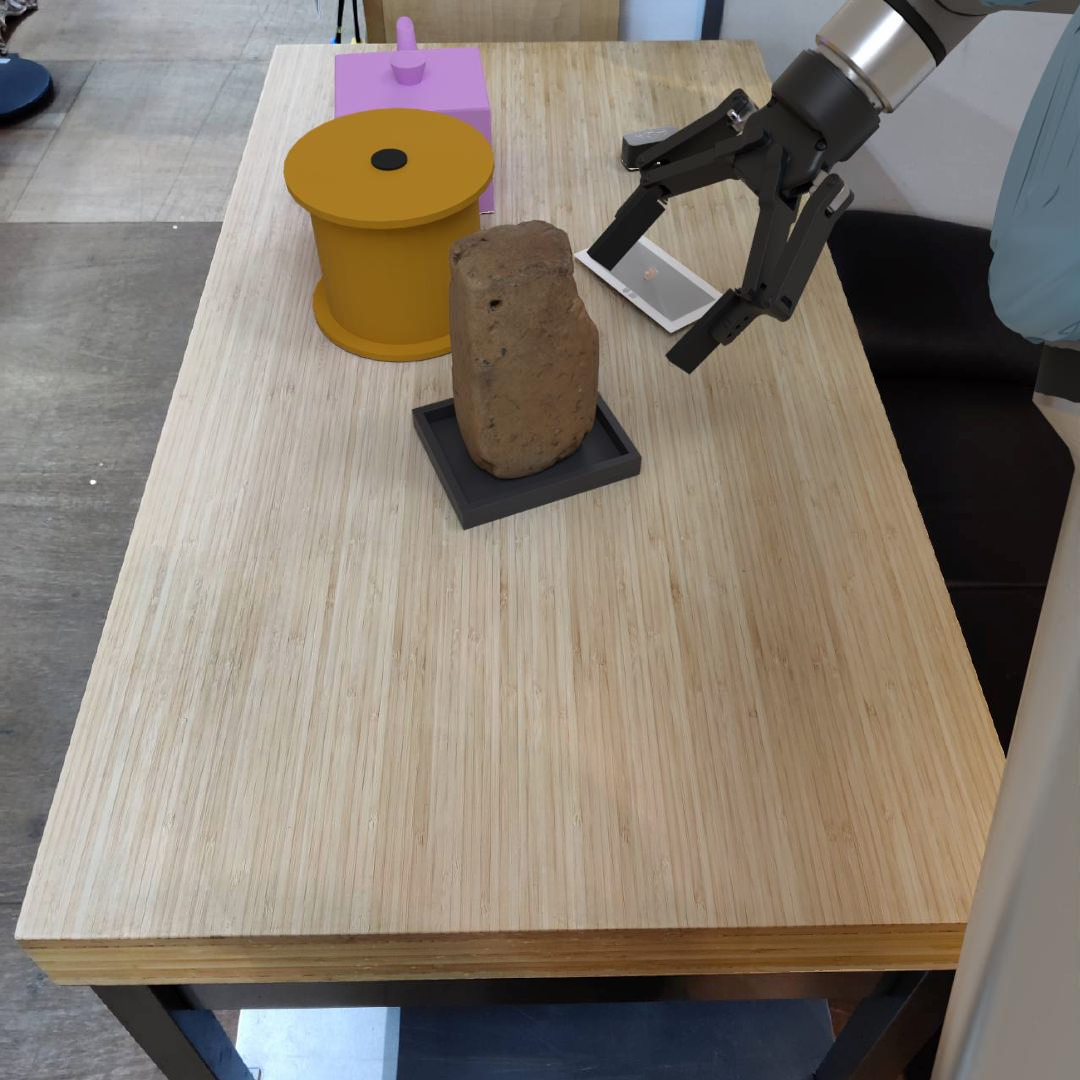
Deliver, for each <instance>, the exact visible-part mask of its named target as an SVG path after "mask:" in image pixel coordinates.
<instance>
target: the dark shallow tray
mask: <svg viewBox="0 0 1080 1080" xmlns="http://www.w3.org/2000/svg"><path fill="white" fill-rule="evenodd" d="M411 414H412V415H411V416H412V422H413V428H414V430H415V432H416V434H417V436H418V438H419V440H420V442H421V444H422V447H423V448H424V450H425V452H426V455H427V457H428V460H429V461H430V463H431V465H432V467H433V469H434V472H435V473H436V475H437V477H438V480H439V482H440V484H441V486H442V488H443V491H444V492H445V494H446V497H447V499H448V501H449V503H450V505H451V506H452V509H453V511H454V513H455V515H456V517H457V519H458V521H459V523H460V525H461V527H462V529H463V530H464V531H465V530H469V529H471V528H475V527H478V526H481V525H484V524H488V523H491V522H493V521H497V520H501V519H504V518H506V517H509V516H512V515H516V514H519V513H523V512H525V511H529V510H531V509H535V508H538V507H541V506H544V505H548V504H550V503H553V502H557V501H560V500H563V499H565V498H566V499H567V498H569V497H573V496H575V495H579V494H582V493H586V492H588V491H593V490H595V489H597V488H601V487H604V486H607V485H610V484H613V483H616V482H620V481H623V480H626V479H629V478H632V477H636V476H639V475H640V474H641V468H642V459H643V457H642V455H641V454H640V451H639V450H638V449H637V447H636V446H635V444H634V442H632V441H633V440H632V439H631V437H629V435H628V434H627V432H626V431H625V429H624V427H623V426H622V425H621V423H620V421H619V420H618V418H617V417H616V415H614V412H613V411H612V409H611V408H610V406H609V405H608V403H607V402H606V401H605V399H604V398H603V396H602V395H601V393H600V391H598V394H597V403H596V412H595V418H594V423H593V427H592V429H591V431H590V432H589V433H588V434H587V435H586V436H585V439H583V440H582V441H581V444H580V446H579V447H578V448H577V449H576V451H575V452H574V453H573V454H572V455H570V456H568V457H566V458H564V459H563V460H561V461H556V462H555V463H554V464H553V465H552V466H550V467H548V468H546V469H545V470H543V471H541V472H539V473H536V474H533V475H528V476H524V477H519V478H506V479H502V478H498V477H495V476H494V475H493V474H491V473H490V472H488V471H487V470H486V469H481V468H480V467H479V466H477V465H476V464H475V462H474V461H473V460H472V458H471V457H470V454H469V452H468V449H467V447H466V445H465V442H464V440H463V437H462V435H461V431H460V428H459V424H458V421H457V417H456V411H455V406H454V397H450V398H446V399H442V400H439V401H435V402H431V403H428V404H425V405H421V406H418V407H414V408H412V409H411Z"/></svg>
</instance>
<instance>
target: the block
mask: <svg viewBox="0 0 1080 1080" xmlns="http://www.w3.org/2000/svg"><path fill="white" fill-rule="evenodd" d="M573 254H574V253H573V250H572V246H571V242H570V238H569V234H568V232H566V231H565V230H564V229H562V228H558V227H557V226H555V225H554V224H553V223H550V222H547V221H545V220H539V219H532V220H527V221H522V222H520V223H517V224H513V223H511V224H510V223H509V224H508V223H507V224H506V223H505V224H499V225H495V226H491V227H489V228H485V229H482V230H480V231H478V232H475V233H473V234H470V235H467V236H465V237H463V238H461V239H459V240H457V241H454V243H453V244H452V246H451V247H450V251H449V256H448V258H449V265H450V274H451V280H450V283H449V322H450V343H451V352H450V353H451V380H452V381H451V382H452V383H451V384H452V396H453V397H454V406H455V411H456V417H457V421H458V424H459V428H460V431H461V435H462V437H463V440H464V442H465V445H466V447H467V449H468V452H469V454H470V457H471V458H472V460H473V461H474V462H475V464H476V465H477V466H479V467H480V468H481V469H486V470H487V471H488V472H490V473H491V474H493V475H494V476H495V477H498V478H502V479H506V478H519V477H524V476H528V475H533V474H536V473H539V472H541V471H543V470H545V469H546V468H548V467H550V466H552V465H553V464H554V463H555V462H556V461H561V460H563V459H564V458H566V457H568V456H570V455H572V454H573V453H574V452H575V451H576V449H577V448H578V447H579V446H580V444H581V441H582V440H583V439H585V436H586V435H587V434H588V433H589V432H590V431H591V429H592V427H593V423H594V418H595V412H596V403H597V394H598V392H599V372H600V335H599V329H598V327H597V324H596V323H595V322H594V320H593V319H592V318H591V317H590V315H589V312H588V311H587V308H586V305H585V302H584V301H583V299H582V298H581V296H580V295H579V292H578V287H577V281H576V279H575V277H574V274H575V263H574V259H573V258H574V255H573ZM453 397H452V398H453Z"/></svg>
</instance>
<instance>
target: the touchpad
mask: <svg viewBox="0 0 1080 1080" xmlns="http://www.w3.org/2000/svg"><path fill="white" fill-rule="evenodd" d="M590 247H591V246H589V247H587V248H585V249H582V250H580V251H578V252H576V253H572V254H573V257H575V258H576V259H577V260H578V261H580V262H581V263H582V264H584V265H585V266H586V267H587V268H589V269H590V270H591V271H592V272H594V273H595V274H596V275H597V276H599V277H600V278H601V279H602V280H603V281H605V282H606V283H607V284H608V285H610V286H611V287H613V289H615V290H617V292H619V293H620V294H621V295H622V296H624V297H625V298H626V299H628V300H629V301H630V302H631V303H633V305H635V306H636V307H637V308H639V309H640V310H641V311H642V312H644V314H646V315H647V316H649V318H651V319H653V320H654V321H655V322H656V323H658V324H659V325H660V326H661V327H662V328H663V329H665V330H666V331H668V333H670V334H672V333H674V332H676V331H678V330H680V329H682V328H684V327H686V326H688V325H690V324H692V323H694V322H697V321H698V320H699V319H700V318H701V317H702V316H703V315H704V314H705V313H706V312H707V311H708V310H709V309H710V308H711V307H712V306H713V305H714V304H715V303H716V302H717V301H718V299H719V298H720V297H721V296H722V295H723V294H724V293H722V292H720V291H719V290H718V289H717V288H715V287H714V286H712V285H711V284H709V283H708V282H707V281H705V280H704V279H703V278H701V277H700V276H699V275H698V274H696V273H694V272H693V271H692V270H690V269H689V268H688V267H687V266H685V265H684V264H683V263H681V262H680V261H678V260H677V259H676V258H674V257H673V256H671V254H669V253H667V252H666V251H665V250H664V249H662V248H661V247H659V246H658V245H657V244H656V243H654V242H652V241H651V240H650V239H649V238H647V237H646V236H644V235H643V236H642V237H641V238H640V239H639V240H638V241H637V242H636V243H635V245H634V246H633V247H632V248H631V249H630V250H629V251H628V252H627V253H626V255H625V256H624V257H623V258H622V259H621V260H620V261H619V262H618V264H617V265H616V266H615V267H614V268H613V269H612V270H611V271H609V270H607V269H606V268H605V267H603V266H602V265H600V264H599V263H598V262H596V261H595V260H593V259H592V258H591V257H590V256H589V255H588V254H587V251H588V249H589V248H590Z"/></svg>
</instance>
